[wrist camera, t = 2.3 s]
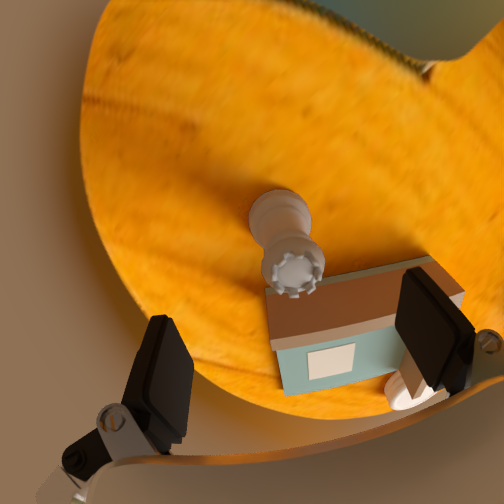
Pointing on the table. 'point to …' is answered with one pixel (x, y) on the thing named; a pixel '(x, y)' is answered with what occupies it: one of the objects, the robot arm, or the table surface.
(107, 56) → the table surface
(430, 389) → the white round container
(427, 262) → the corner arena
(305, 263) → the rook chess piece
